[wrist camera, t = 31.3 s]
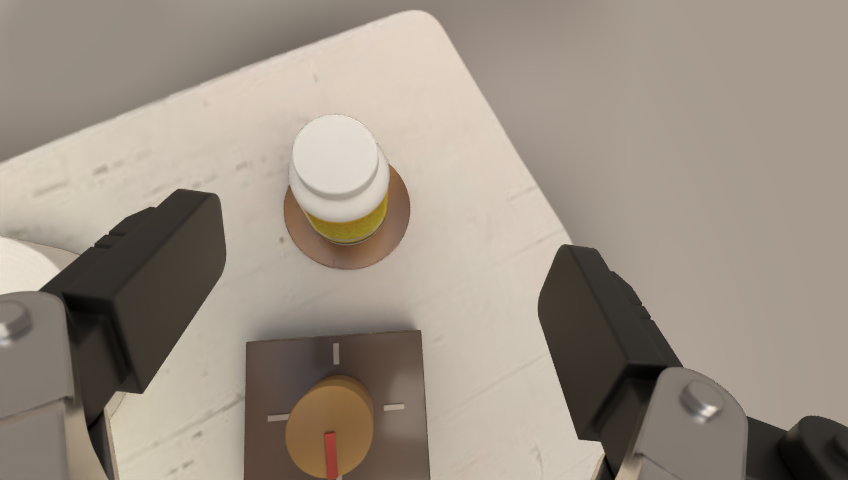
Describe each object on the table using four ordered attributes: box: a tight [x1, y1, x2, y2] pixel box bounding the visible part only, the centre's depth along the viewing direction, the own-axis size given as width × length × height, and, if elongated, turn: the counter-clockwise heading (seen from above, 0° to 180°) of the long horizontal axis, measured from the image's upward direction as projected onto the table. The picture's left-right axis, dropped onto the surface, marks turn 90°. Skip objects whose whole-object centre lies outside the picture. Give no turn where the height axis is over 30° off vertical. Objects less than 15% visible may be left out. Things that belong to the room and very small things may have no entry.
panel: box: [244, 330, 430, 480], centre depth 29 cm, size 12×10×3 cm
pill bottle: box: [289, 114, 390, 245], centre depth 28 cm, size 6×6×11 cm
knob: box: [285, 375, 374, 480], centre depth 25 cm, size 5×5×6 cm
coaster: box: [284, 164, 410, 270], centre depth 34 cm, size 10×10×1 cm
